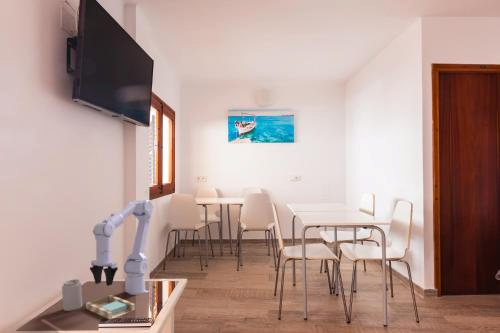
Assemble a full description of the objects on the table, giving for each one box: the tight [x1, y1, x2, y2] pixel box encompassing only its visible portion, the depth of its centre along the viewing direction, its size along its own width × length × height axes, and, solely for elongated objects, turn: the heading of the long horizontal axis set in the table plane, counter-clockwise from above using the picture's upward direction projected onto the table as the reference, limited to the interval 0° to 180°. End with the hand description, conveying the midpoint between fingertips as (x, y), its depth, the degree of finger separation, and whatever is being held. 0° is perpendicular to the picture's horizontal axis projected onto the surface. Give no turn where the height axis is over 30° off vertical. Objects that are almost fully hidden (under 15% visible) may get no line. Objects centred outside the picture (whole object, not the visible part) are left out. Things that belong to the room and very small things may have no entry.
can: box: [61, 278, 84, 311], centre depth 153 cm, size 8×8×12 cm
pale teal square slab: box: [101, 301, 127, 315], centre depth 146 cm, size 8×7×2 cm
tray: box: [85, 294, 136, 320], centre depth 148 cm, size 20×11×3 cm, turn 49°
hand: (103, 284), depth 149 cm, fingers open, 7 cm apart
